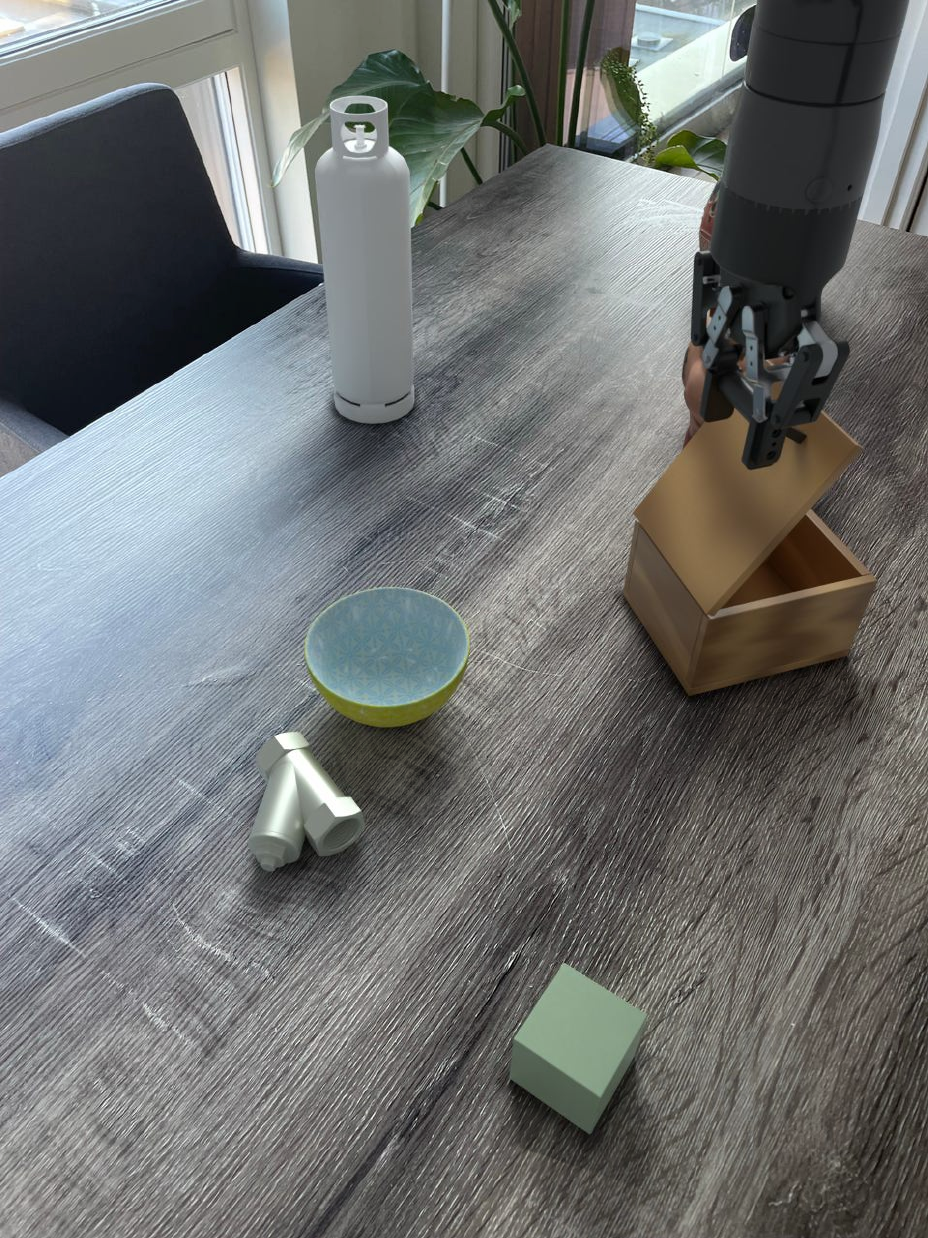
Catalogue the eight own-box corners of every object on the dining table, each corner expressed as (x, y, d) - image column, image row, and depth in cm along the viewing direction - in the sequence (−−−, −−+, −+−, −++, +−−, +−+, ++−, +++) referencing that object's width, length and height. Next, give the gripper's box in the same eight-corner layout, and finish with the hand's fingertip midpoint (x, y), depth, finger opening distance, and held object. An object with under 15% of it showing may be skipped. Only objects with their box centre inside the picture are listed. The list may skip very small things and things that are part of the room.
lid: (766, 357, 69) (716, 327, 66) (864, 449, 61) (813, 420, 58) (639, 515, 76) (588, 495, 73) (713, 617, 68) (660, 598, 65)
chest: (768, 561, 84) (791, 486, 79) (847, 656, 77) (878, 580, 71) (622, 594, 81) (635, 518, 76) (688, 696, 73) (708, 620, 68)
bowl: (294, 754, 69) (284, 695, 65) (332, 637, 77) (325, 578, 73) (456, 774, 68) (457, 715, 64) (478, 653, 76) (479, 594, 72)
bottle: (332, 423, 98) (305, 121, 79) (336, 380, 104) (312, 88, 85) (414, 423, 99) (407, 121, 79) (414, 380, 104) (408, 89, 85)
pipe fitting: (276, 896, 62) (367, 837, 64) (263, 864, 59) (360, 803, 61) (217, 808, 66) (305, 756, 69) (203, 774, 63) (296, 721, 66)
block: (635, 1055, 55) (648, 1015, 51) (590, 1135, 52) (600, 1098, 48) (556, 1004, 57) (563, 962, 53) (508, 1078, 54) (513, 1039, 50)
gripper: (937, 218, 49) (847, 493, 61) (785, 123, 59) (733, 376, 71) (804, 239, 48) (738, 517, 60) (670, 138, 58) (637, 394, 70)
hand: (736, 439), depth 65 cm, fingers closed on lid, 5 cm apart
